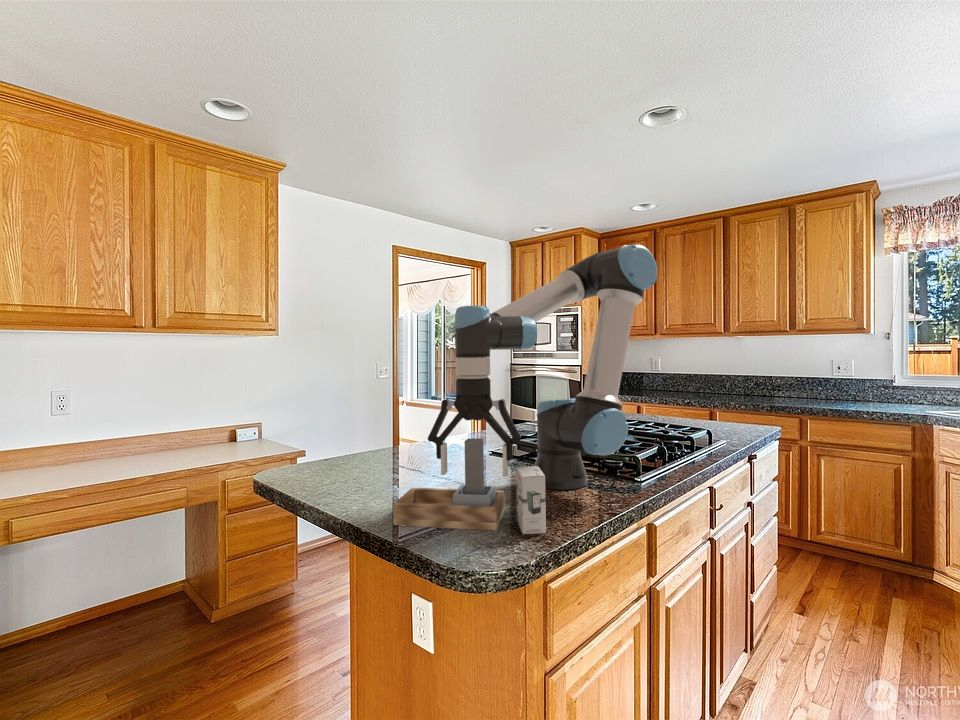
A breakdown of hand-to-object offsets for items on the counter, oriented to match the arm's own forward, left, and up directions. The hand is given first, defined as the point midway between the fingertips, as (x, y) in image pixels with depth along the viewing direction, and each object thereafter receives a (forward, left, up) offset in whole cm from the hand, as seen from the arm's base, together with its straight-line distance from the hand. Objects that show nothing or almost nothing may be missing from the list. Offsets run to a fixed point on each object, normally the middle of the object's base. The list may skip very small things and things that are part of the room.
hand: (474, 474), depth 110 cm
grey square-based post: (0, 0, -8) cm, 8 cm away
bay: (+5, 0, -10) cm, 11 cm away
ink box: (-12, +3, -10) cm, 16 cm away
